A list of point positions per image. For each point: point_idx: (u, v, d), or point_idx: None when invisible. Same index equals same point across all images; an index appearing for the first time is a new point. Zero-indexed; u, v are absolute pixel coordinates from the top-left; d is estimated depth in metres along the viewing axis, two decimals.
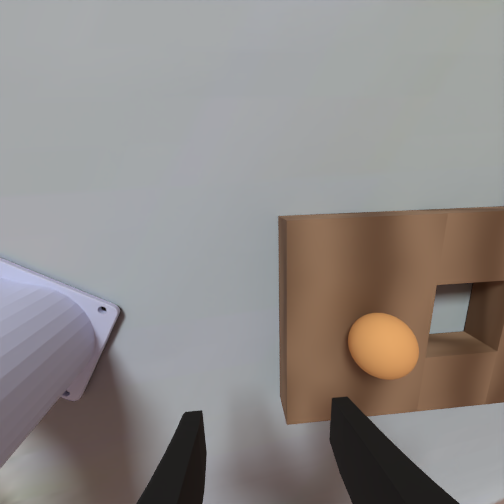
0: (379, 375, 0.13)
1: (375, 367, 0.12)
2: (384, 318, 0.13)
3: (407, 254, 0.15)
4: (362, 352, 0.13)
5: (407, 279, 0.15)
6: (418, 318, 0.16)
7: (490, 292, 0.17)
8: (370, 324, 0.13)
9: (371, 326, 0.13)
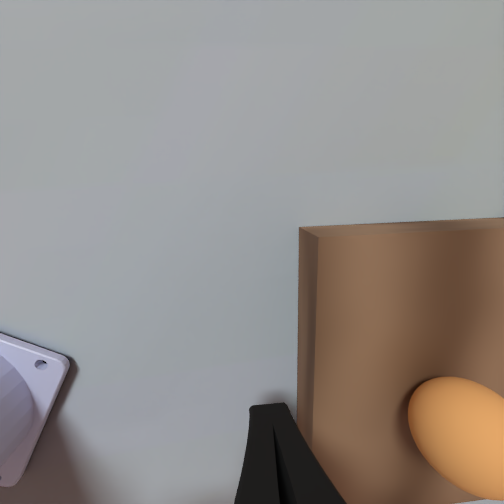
0: (474, 493, 0.08)
1: (470, 483, 0.07)
2: (476, 394, 0.08)
3: (497, 287, 0.10)
4: (444, 453, 0.08)
5: (494, 323, 0.10)
6: None
7: None
8: (454, 405, 0.08)
9: (458, 410, 0.08)
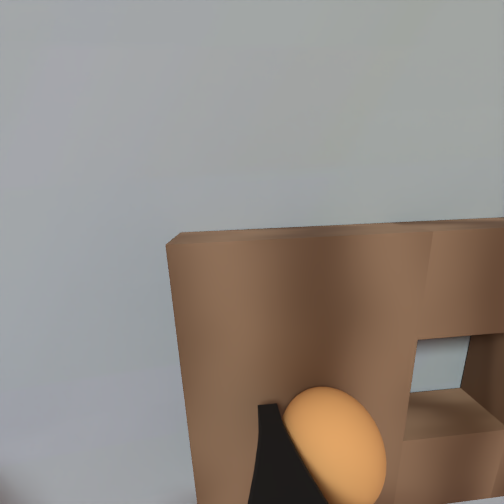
0: None
1: None
2: (331, 407, 0.08)
3: (369, 295, 0.09)
4: None
5: (371, 332, 0.10)
6: (391, 388, 0.10)
7: (499, 342, 0.12)
8: (308, 420, 0.08)
9: (310, 426, 0.08)
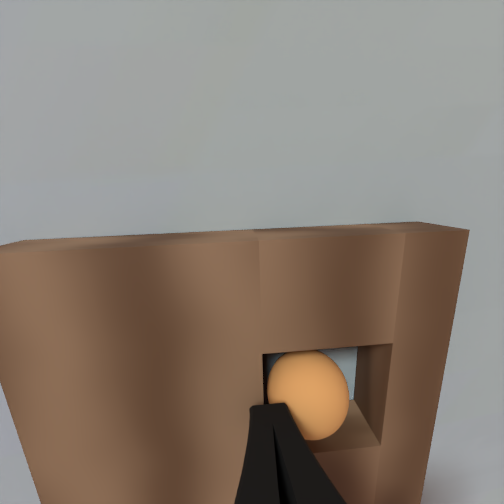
0: None
1: None
2: (304, 355, 0.11)
3: (199, 308, 0.09)
4: None
5: (208, 346, 0.09)
6: (242, 404, 0.10)
7: (373, 353, 0.11)
8: None
9: None
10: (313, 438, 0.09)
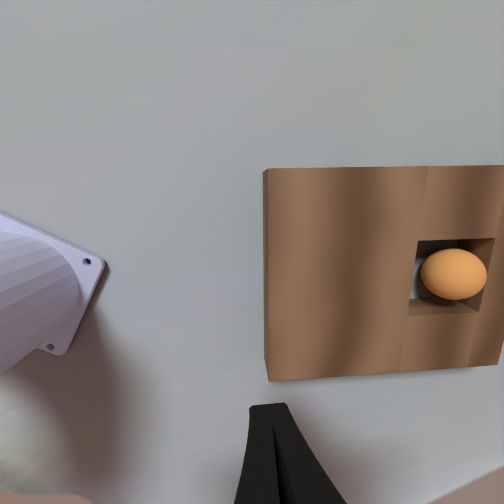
0: (425, 284, 0.17)
1: (422, 276, 0.17)
2: (453, 249, 0.16)
3: (387, 208, 0.15)
4: (422, 266, 0.18)
5: (388, 233, 0.15)
6: (400, 275, 0.16)
7: (473, 254, 0.17)
8: (439, 250, 0.17)
9: (437, 251, 0.17)
10: (480, 289, 0.16)
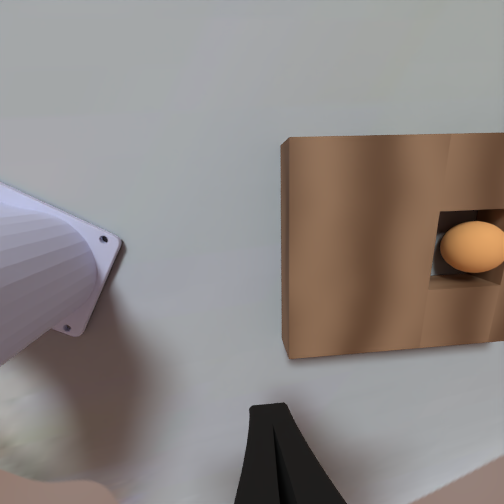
0: (446, 259, 0.17)
1: (442, 250, 0.17)
2: (474, 221, 0.16)
3: (409, 177, 0.14)
4: (441, 241, 0.18)
5: (410, 204, 0.15)
6: (421, 247, 0.16)
7: None
8: (458, 224, 0.17)
9: (457, 225, 0.17)
10: None
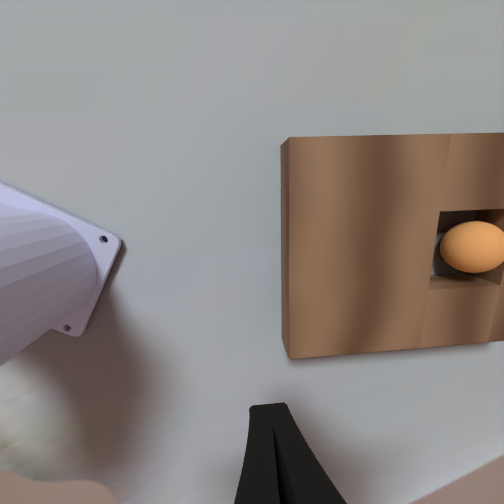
0: (445, 259, 0.17)
1: (442, 250, 0.17)
2: (474, 221, 0.16)
3: (409, 177, 0.14)
4: (441, 241, 0.18)
5: (410, 204, 0.15)
6: (421, 247, 0.16)
7: None
8: (458, 224, 0.17)
9: (457, 225, 0.17)
10: (502, 261, 0.16)
